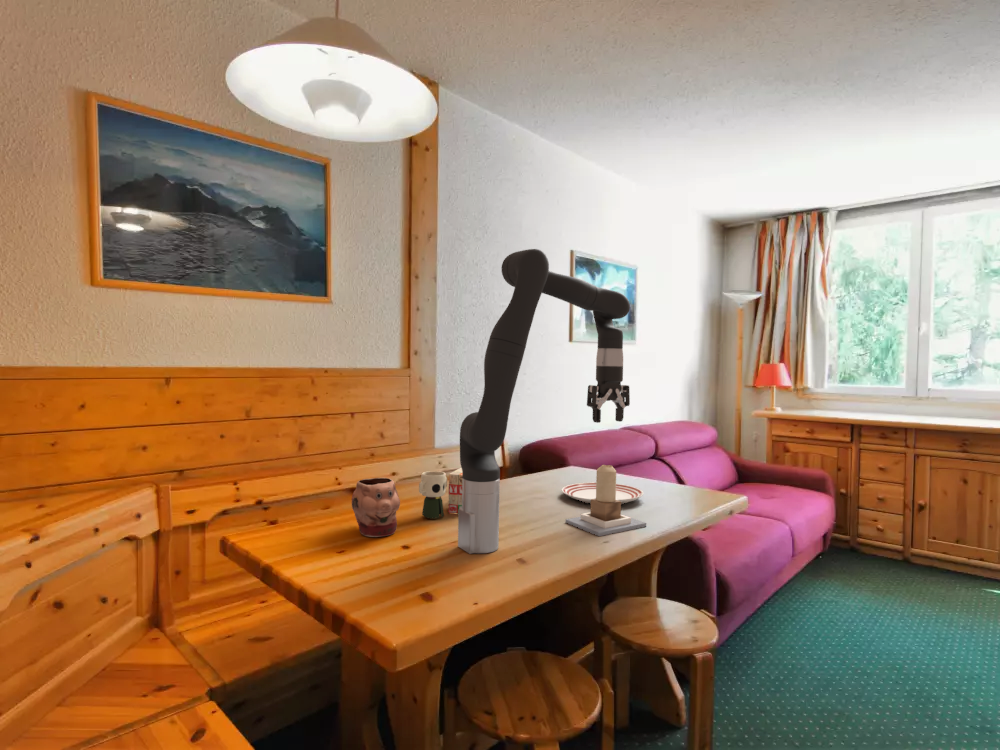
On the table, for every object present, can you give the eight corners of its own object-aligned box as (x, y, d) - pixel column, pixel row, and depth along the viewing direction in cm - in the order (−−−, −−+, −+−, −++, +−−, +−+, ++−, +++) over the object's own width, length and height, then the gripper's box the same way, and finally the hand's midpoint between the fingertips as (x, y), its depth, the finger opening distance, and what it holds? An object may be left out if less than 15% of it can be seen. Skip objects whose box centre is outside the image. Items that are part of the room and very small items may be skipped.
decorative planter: (339, 525, 150) (340, 475, 150) (381, 518, 158) (381, 470, 157) (367, 545, 134) (368, 489, 134) (412, 537, 141) (413, 484, 141)
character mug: (427, 523, 153) (428, 477, 153) (410, 518, 157) (411, 474, 157) (454, 516, 161) (455, 472, 161) (438, 511, 166) (438, 469, 166)
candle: (603, 503, 152) (603, 467, 151) (592, 498, 157) (592, 464, 156) (619, 501, 154) (620, 466, 154) (608, 497, 159) (608, 463, 159)
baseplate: (598, 536, 145) (599, 527, 145) (565, 522, 157) (565, 514, 156) (646, 526, 154) (646, 517, 154) (611, 514, 166) (611, 506, 166)
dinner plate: (546, 500, 182) (547, 490, 182) (582, 486, 205) (583, 477, 205) (624, 515, 167) (625, 504, 166) (654, 497, 189) (655, 488, 189)
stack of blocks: (470, 497, 184) (471, 461, 184) (488, 498, 183) (489, 462, 182) (447, 513, 164) (448, 473, 164) (467, 515, 162) (468, 474, 162)
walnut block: (604, 525, 151) (605, 504, 151) (590, 519, 156) (590, 499, 156) (620, 522, 154) (621, 501, 154) (605, 517, 159) (606, 496, 159)
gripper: (600, 364, 147) (598, 424, 148) (637, 365, 155) (635, 422, 155) (581, 364, 154) (580, 421, 154) (618, 365, 161) (616, 419, 162)
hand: (608, 421), depth 155 cm, fingers open, 8 cm apart
